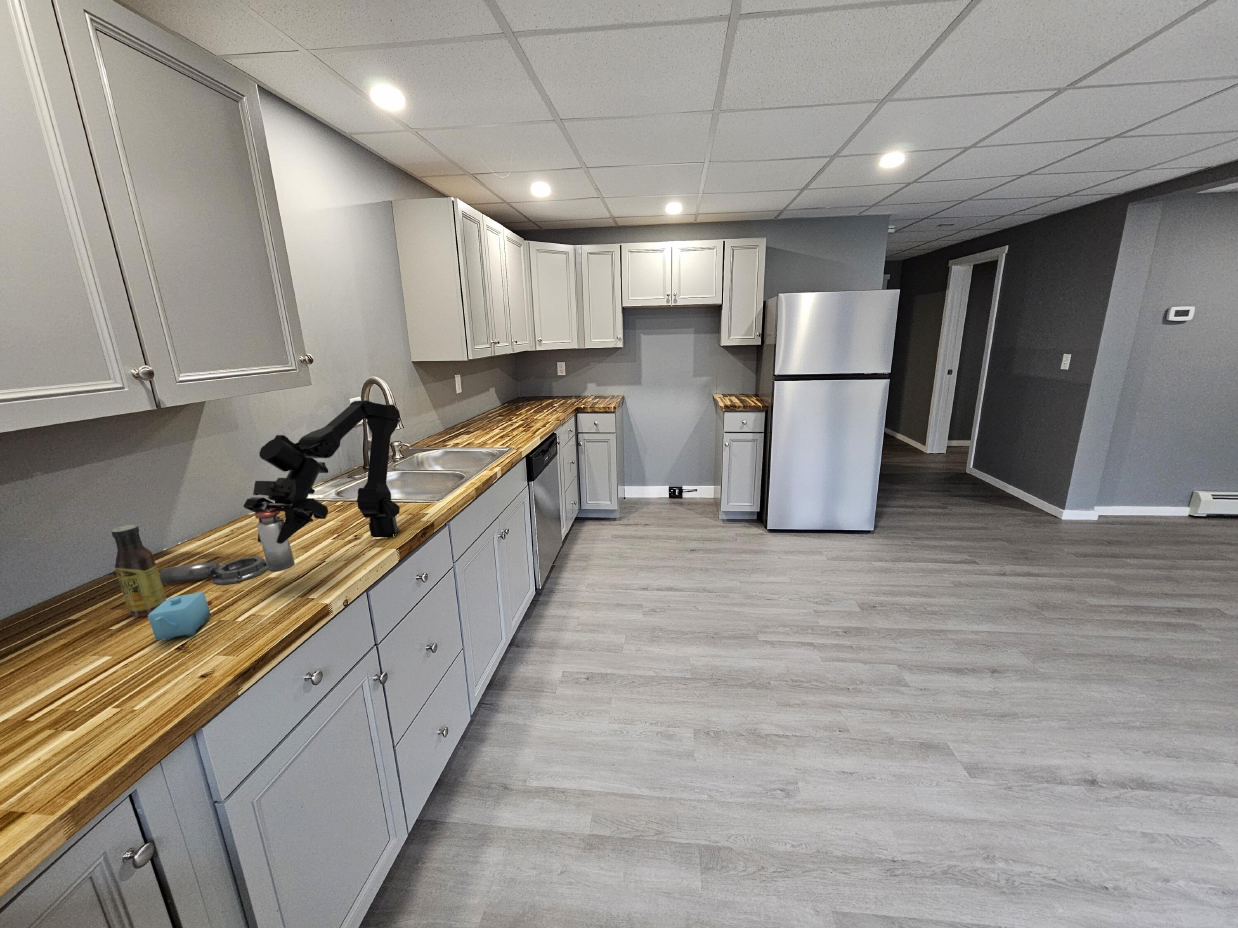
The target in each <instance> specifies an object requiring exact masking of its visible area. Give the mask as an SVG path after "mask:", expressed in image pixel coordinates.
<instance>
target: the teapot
mask: <svg viewBox="0 0 1238 928" xmlns="http://www.w3.org/2000/svg"><path fill="white" fill-rule="evenodd" d="M211 615H212V614H211V611H210V607H209V604H208V601H207V598H206V594H205V592H204V591H200V592H195V593H187V594H183V595H178V596H171V597H168V598H166V601H164V602H163V603H162V604H161V605H159V606H158V607H157V608H156V609H155V610H153V611H152V612H151V613H150V614H149V615H147V618H148V621H149V624H150V627H151V629H152V633H153V635H154V639H155V641H158V640H159V641H160V640H165V641H170V640H172V639H175V637H180V636H181V637H182V636H187V637H191V636H193V635H195V634H196V633H197V630H198V629H199V628H200V627H201V626H204V625H205V624H206V621H207V620H208V618H210V616H211Z"/></svg>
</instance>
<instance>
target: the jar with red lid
mask: <svg viewBox="0 0 1238 928" xmlns="http://www.w3.org/2000/svg"><path fill="white" fill-rule="evenodd" d="M277 514H278V515H279V514H281V512H280V509H279V508H271V509H266V510H262V511H259V512H257V513H254V517H255V519H259V518H261V520H262V522H260V523H259V522H258V523H256V528H257V531H258V532H259V536H260V540H261V543H260V544H261V548H262V550H263V551H262V552H263V553H264V557H265V560H266V562H267V565H268V569H269V570H268V571H269V572H271V573H277V572H282V571H286V570H288V569H291V568H292V567H294V566H295V564H296V562H295V559H294V555H293V552H292V547H291V543H290V538H288V539H287V540H286V541H285V542H283V543H282V544H279V543H277V539H278V536H279V534H280V531H281V529H282V526H283V524H284V522H285V519H284V518H282V517H280V518H277V516H278V515H277ZM276 515H277V516H276Z"/></svg>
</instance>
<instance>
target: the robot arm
mask: <svg viewBox="0 0 1238 928" xmlns="http://www.w3.org/2000/svg"><path fill="white" fill-rule="evenodd" d="M363 420H366V424H367V426H368V429H369V431H370V433H371V439H370V440H371V442H370V452H369V459H368V460H369V461H368V470H367V481H366V483H365V485H364V486H363V487H359V488H358V490H357V499H356V500H355V503H357V509H358V510H359V511H360V512H361V514H362V517H364V519H369V523H368V528H369V531H370V536H371V537H393V534H394V536H395V534H396V533H397V532H398V531H399V532H400V530H399V529H400V528H398V523H397V518H396V517H398V516H397V515H399V514H400V510H401V509H400V508H401V507H400V505H398V504H397V503H396V502H394V501H393V500H392V493H391V491H390V489H389V487H388V485H387V479H388V477H387V476H388V468H389V460H390V459H389V458H390V447H391V439H392V438H391V437H392V434H394V432H395V431H396V429H398V426H399V421H400V410H399V409H398V408H397V407H396V406H395V405H394V404H382V403H377V402H373V401H371V400H368V399H367V400H365V399H364V400H363V399H362V400H354V401H352V402H350V404H349V406H347V408H345V409H343V411H341V413H339V414H338V415H337V416H335V417H334V418H333V419H332V420H331V421H330V422H328V423H327V424H326V425H325V426H324V427H321V428H319V429H316V430H312V431H310V432H309V433H307V434H305V435H303V436H301V438H300V439H298V442H295V443H294V442H293V441H291V440H290V439H289V438H288V436H286V435H285V434H277V435H275V437H274V438H273V439H271V440H269V441H268V442H267V443H265V444H264V445H262V447H261V448H260V450H259V458H260V459H262V460H263V461H265V462H267V463H268V464H270V465H272V466H273V467H275V468H276V469H278V470H279V471H281V472H288V474H287V475H286V477H277V479H276V480H255V482H254V484H253V485H254V487H253V492H252V495H253V496H256V497H250V498H247V499H246V500H245V502H244V504H243V508H244V509H246V510H249V511H251V512H252V513H254V514H255V513H257V512H259V511H262V510H266V509H271V508H279V509H280V513H282V512H283V513H284V517H285V519H284V524H283V526H282V529H281V531H280V534H279V536H278V539H277V543H279V544H282V543H283V542H285V541H286V540H287V539H290V538H291V537H292V536H293V535H294V534H296V533H297V532H298V531H300V530H301V529H302V528H303V527H305V526H306V525H308V524H310V523H313V522H314V519H315V520H326V518H327V517H328V513H329V509H328V506H326V504H323V503H322V502H320V501H318V500H316V499H315V498H308V497H309V495H314V494H315V492H316V490H315V489H314V488H313V486H314V484H315V482H316V480H317V479H318V476H319V474H328V473H329V469H328V467H327V465H326V462H323V461H321V462H319V461H318V460H316V459H329V458H332V457H333V456H334V454H336V452H337V451H338V449H339V448H340V446H341V441H342V439H343V438H344V437H346V435H348V433H349V432H350V431H352V430H354V428H355V427H356V426H357V425H358V424H359V423H361V421H363ZM259 495H260V496H268V497H267V498H265V497H258V496H259ZM273 501H274V502H273ZM278 515H279V514H277V515H276V516H277V518H281V517H279V516H278ZM312 517H313V518H312ZM260 522H262V520H261V518H258V523H260ZM399 532H398V533H399ZM398 533H397V534H398ZM395 537H396V536H395ZM257 542H258V543H260V544H262V543H261V540H260V536H259V532H258V534H257Z"/></svg>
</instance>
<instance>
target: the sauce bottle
mask: <svg viewBox="0 0 1238 928" xmlns="http://www.w3.org/2000/svg"><path fill="white" fill-rule="evenodd" d="M139 532H140V528H139V526H138V525H137V524H128V525H123V526H119V527H116V528H113V529H112V530H111V536H112V537H113V538H114V540H115V544H116V549H117V550H116V558H115V563H114V569H115V573H116V575H117V576H116V577H117V578H118V583H119V585H120V589H121V592H122V594H123V597H124V602H125V604H126V606H127V610H128V611H129V613H130V615H131V616H132V617H134V618H135V617H148V615H149V614H150V613H151V612H152V611H153V610H155V609H156V608H157V607H158V606H159V605H161V604H162V603H163V602H164V601H166V600H167V596H166V593H165V590H164V587H163V585H164V584H162V582H161V579H160V575H159V574H160V571H159V569H158V566H157V563H156V561H155V557H154V554H153V552H152V551H151V550H150V549H149V548H147V547H145V545H143V541H142V539H141V536H140V534H139Z"/></svg>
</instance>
